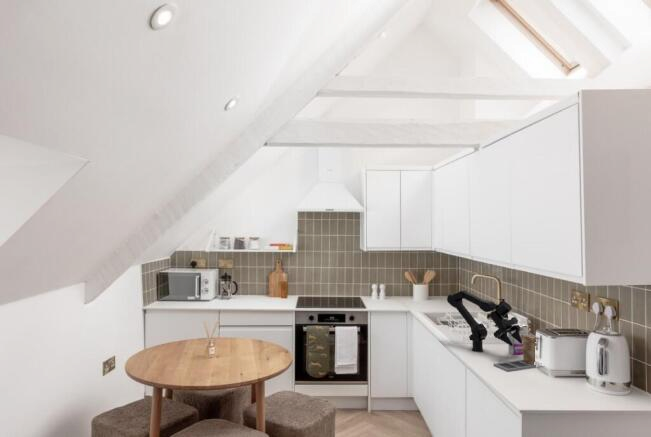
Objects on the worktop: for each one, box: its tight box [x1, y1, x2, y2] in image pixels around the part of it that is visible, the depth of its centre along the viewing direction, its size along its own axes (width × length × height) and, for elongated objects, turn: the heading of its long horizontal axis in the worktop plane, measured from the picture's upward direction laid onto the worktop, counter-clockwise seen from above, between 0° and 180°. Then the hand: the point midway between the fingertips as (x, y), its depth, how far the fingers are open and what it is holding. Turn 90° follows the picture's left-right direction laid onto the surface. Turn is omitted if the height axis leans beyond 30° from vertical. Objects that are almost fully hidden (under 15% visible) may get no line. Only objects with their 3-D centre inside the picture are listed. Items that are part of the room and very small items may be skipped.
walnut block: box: [522, 334, 537, 365], centre depth 228 cm, size 5×5×15 cm
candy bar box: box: [507, 323, 530, 356], centre depth 249 cm, size 11×5×16 cm, turn 105°
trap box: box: [493, 359, 536, 373], centre depth 225 cm, size 25×10×2 cm, turn 111°
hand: (517, 344), depth 234 cm, fingers open, 9 cm apart
